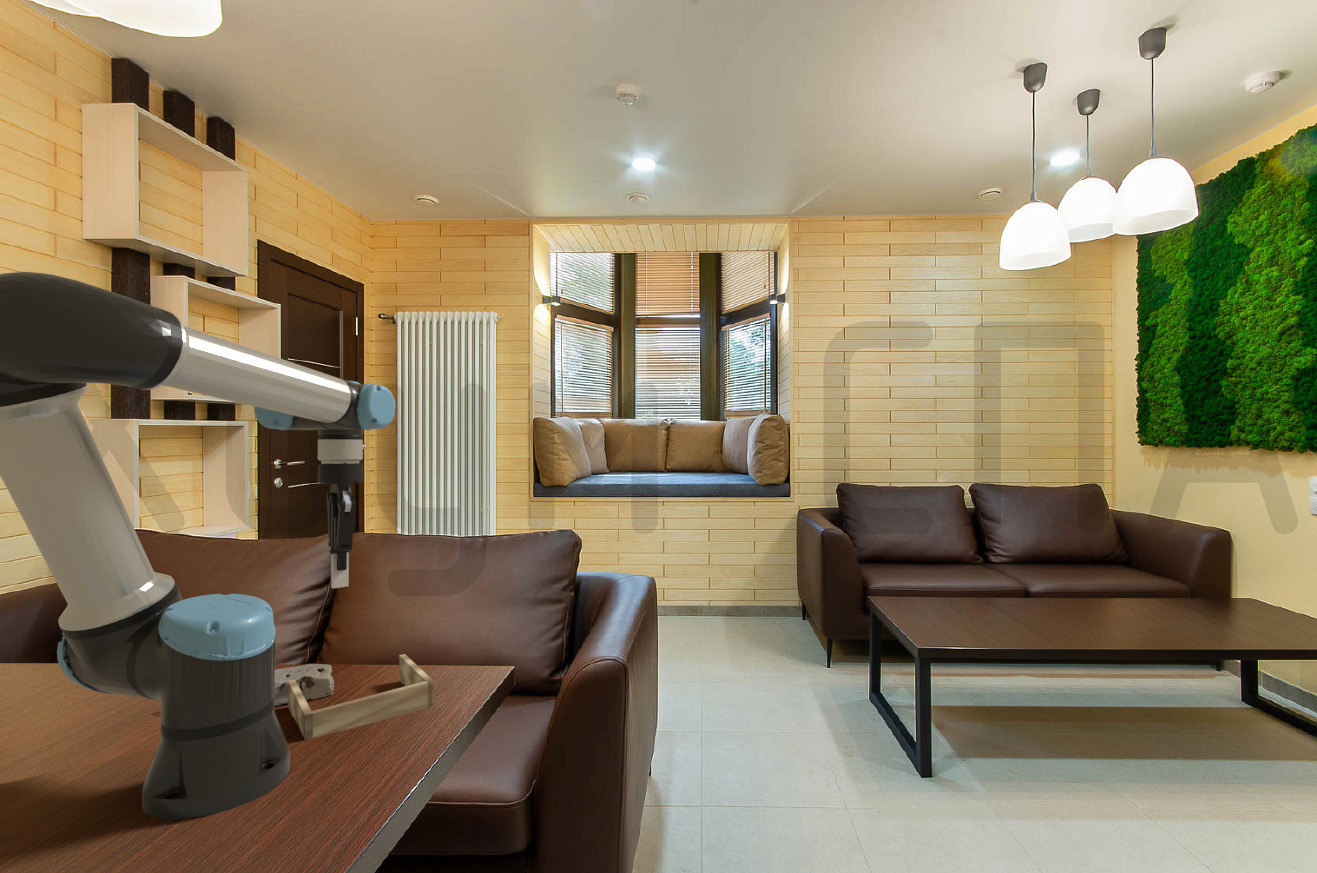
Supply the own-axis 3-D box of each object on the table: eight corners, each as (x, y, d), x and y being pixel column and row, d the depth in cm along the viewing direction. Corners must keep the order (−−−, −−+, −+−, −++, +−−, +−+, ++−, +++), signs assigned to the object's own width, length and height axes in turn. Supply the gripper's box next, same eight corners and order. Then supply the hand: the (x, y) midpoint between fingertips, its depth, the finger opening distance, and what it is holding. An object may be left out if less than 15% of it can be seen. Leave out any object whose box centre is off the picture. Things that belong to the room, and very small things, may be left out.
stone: (346, 692, 105) (329, 678, 112) (342, 661, 105) (325, 649, 112) (260, 725, 96) (247, 708, 103) (255, 691, 96) (243, 676, 103)
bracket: (434, 710, 99) (433, 681, 99) (305, 749, 87) (305, 715, 87) (404, 680, 111) (404, 654, 111) (288, 710, 99) (288, 681, 99)
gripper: (371, 462, 108) (370, 590, 108) (354, 460, 118) (353, 577, 118) (325, 463, 103) (324, 597, 103) (311, 461, 113) (310, 583, 113)
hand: (339, 586), depth 110 cm, fingers closed
